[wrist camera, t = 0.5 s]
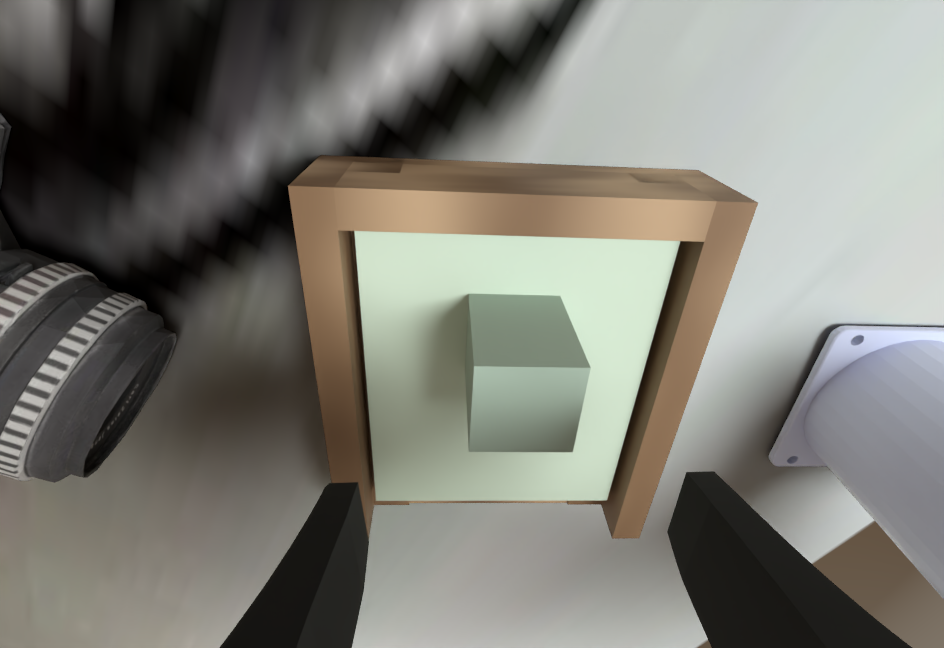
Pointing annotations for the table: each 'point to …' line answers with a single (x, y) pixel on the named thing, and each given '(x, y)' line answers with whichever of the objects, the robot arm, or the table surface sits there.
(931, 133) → the table surface
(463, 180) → the box
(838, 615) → the robot arm
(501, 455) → the lid
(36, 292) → the camera
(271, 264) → the table surface
